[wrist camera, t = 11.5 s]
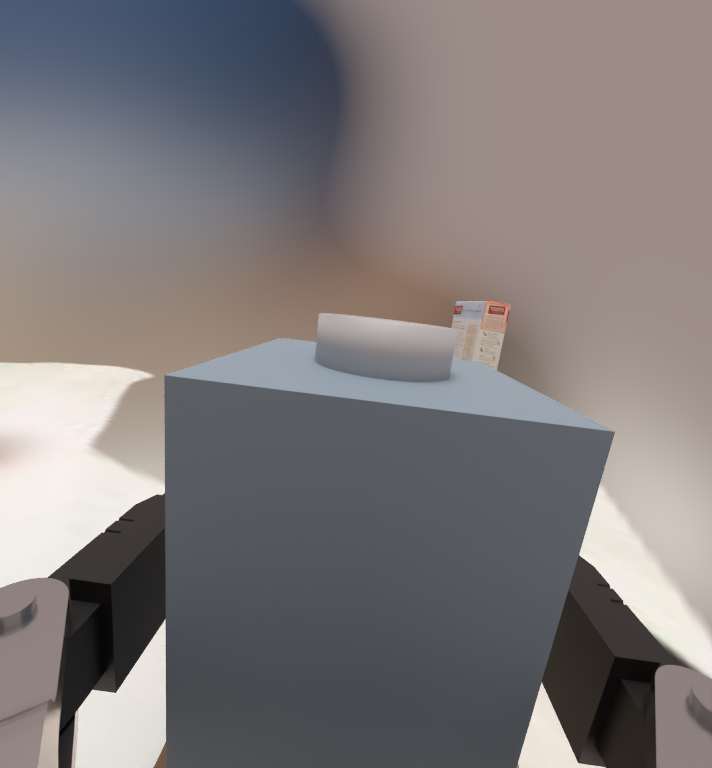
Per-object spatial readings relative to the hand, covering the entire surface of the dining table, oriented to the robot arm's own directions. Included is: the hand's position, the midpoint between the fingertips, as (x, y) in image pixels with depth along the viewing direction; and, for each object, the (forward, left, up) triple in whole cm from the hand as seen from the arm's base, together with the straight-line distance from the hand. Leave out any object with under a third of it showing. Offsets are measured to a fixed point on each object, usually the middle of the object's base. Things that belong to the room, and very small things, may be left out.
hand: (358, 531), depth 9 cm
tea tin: (0, -2, -9) cm, 9 cm away
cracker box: (+10, +73, -11) cm, 75 cm away
